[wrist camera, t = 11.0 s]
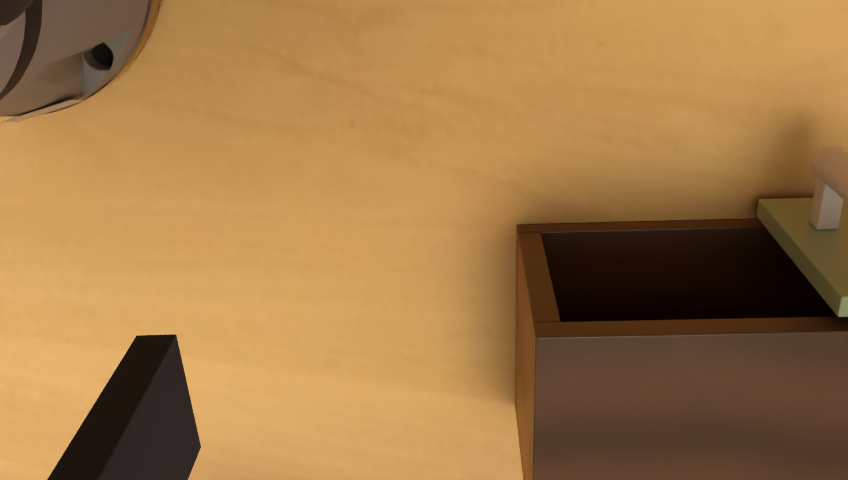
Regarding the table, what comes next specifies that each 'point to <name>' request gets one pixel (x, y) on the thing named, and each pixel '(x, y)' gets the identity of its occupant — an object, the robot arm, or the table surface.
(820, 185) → the sliding door
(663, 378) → the cabinet
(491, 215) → the table surface
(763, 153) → the table surface
